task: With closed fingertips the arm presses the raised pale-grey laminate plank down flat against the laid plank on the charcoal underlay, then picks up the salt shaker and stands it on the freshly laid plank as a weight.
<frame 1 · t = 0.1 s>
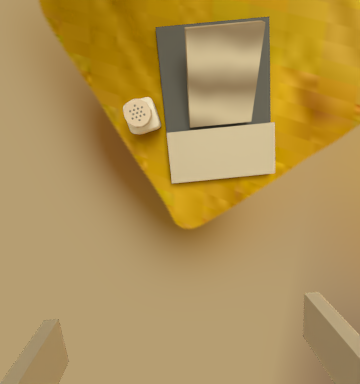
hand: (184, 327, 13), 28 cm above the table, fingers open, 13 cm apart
plank: (221, 79, 32), point 5 cm above the table, hinge at 30.0°
underlay: (216, 105, 37), on the table
salt shaker: (146, 119, 37), on the table
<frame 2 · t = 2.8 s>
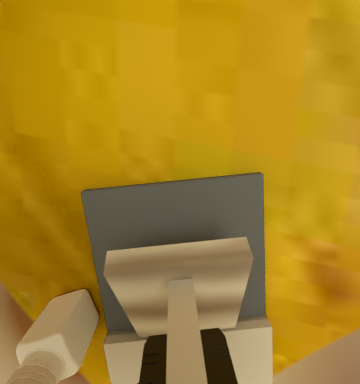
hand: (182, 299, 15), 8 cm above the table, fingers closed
plank: (183, 296, 19), point 5 cm above the table, hinge at 30.0°, touching gripper
underlay: (183, 287, 24), on the table
salt shaker: (77, 305, 25), on the table
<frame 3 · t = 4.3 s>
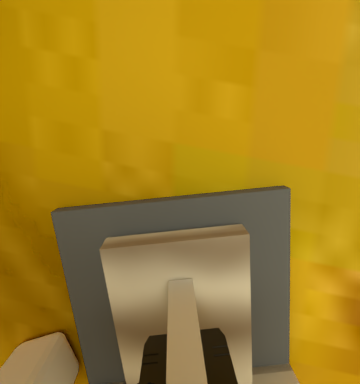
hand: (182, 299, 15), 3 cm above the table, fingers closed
plank: (183, 315, 17), point 2 cm above the table, hinge at 2.3°, touching gripper
underlay: (185, 328, 19), on the table
salt shaker: (52, 351, 20), on the table
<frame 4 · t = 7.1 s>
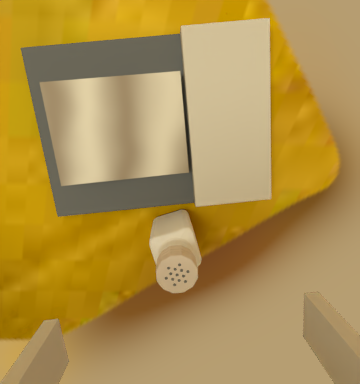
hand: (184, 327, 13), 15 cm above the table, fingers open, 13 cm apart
plank: (120, 130, 22), point 2 cm above the table, hinge at 2.3°
underlay: (154, 128, 24), on the table
salt shaker: (174, 227, 27), on the table
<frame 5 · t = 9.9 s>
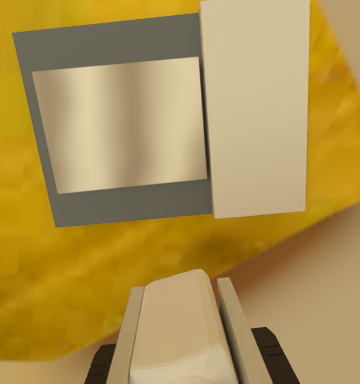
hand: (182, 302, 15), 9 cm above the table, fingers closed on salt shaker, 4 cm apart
plank: (126, 128, 19), point 2 cm above the table, hinge at 2.3°
underlay: (165, 126, 21), on the table
salt shaker: (182, 296, 15), point 8 cm above the table, touching gripper
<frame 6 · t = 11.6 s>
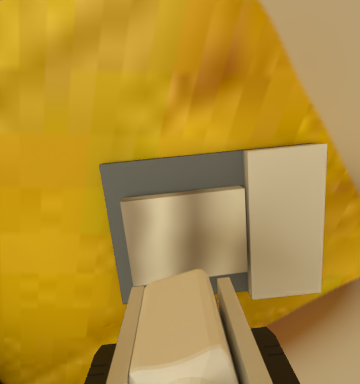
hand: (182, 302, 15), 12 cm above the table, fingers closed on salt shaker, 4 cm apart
plank: (186, 235, 25), point 2 cm above the table, hinge at 2.3°
underlay: (212, 225, 27), on the table
salt shaker: (182, 296, 15), point 12 cm above the table, touching gripper
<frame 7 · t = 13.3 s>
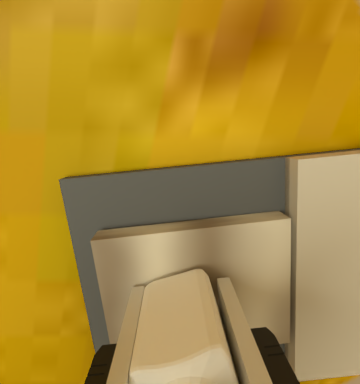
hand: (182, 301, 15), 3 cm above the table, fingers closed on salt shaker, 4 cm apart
plank: (196, 288, 16), point 2 cm above the table, hinge at 1.5°, touching salt shaker
underlay: (233, 267, 18), on the table
salt shaker: (182, 296, 15), point 3 cm above the table, touching gripper, plank
when the fingers open (3 cm above the table, at t = 13.4 s): salt shaker stays where it is, resting on plank.
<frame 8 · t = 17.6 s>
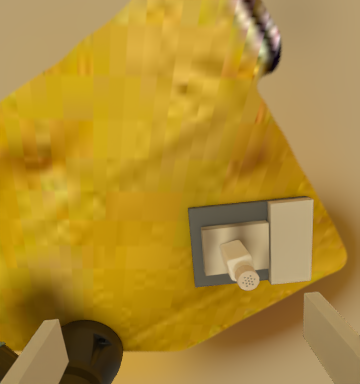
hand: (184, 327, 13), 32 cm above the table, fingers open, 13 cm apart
plank: (235, 248, 44), point 2 cm above the table, hinge at 1.4°, touching salt shaker
underlay: (248, 241, 46), on the table
salt shaker: (230, 250, 44), point 3 cm above the table, touching plank
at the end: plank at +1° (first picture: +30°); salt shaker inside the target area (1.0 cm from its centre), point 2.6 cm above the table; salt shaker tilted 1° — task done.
